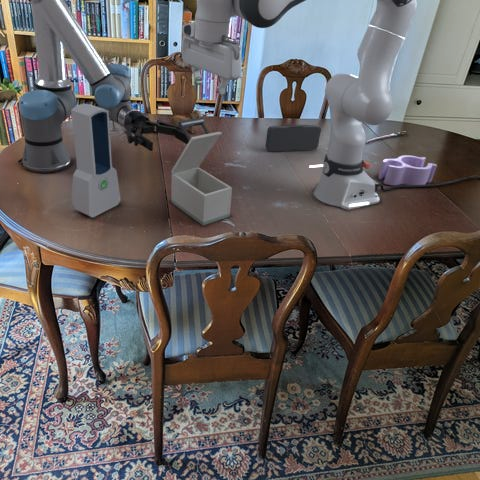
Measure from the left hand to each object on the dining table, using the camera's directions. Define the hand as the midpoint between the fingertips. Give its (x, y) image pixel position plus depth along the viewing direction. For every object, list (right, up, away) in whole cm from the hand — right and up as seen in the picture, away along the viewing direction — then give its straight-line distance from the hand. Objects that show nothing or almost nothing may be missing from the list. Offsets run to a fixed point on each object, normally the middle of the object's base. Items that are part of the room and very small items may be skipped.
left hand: (170, 143), depth 146 cm
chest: (+9, -21, -2) cm, 23 cm away
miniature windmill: (-33, +18, +50) cm, 63 cm away
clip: (+84, -7, +31) cm, 89 cm away
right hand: (+14, +10, -23) cm, 28 cm away
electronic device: (-21, -21, -7) cm, 30 cm away
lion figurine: (-2, +16, +53) cm, 55 cm away
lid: (+9, -5, -10) cm, 14 cm away
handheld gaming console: (+43, +7, +46) cm, 63 cm away
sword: (+89, +16, +69) cm, 114 cm away
